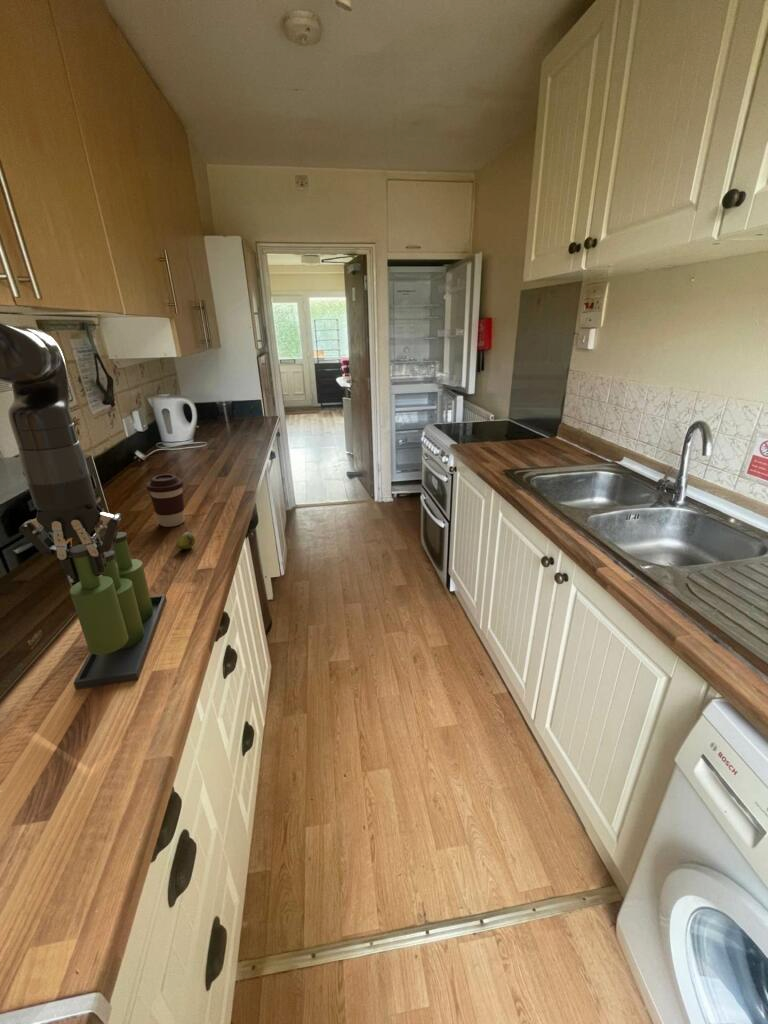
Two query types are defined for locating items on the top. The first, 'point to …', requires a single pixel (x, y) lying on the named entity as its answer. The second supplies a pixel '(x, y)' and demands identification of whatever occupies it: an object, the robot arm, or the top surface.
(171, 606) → the top surface
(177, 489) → the coffee cup
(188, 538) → the lime
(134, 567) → the bottle far
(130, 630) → the bottle mid
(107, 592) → the bottle loose
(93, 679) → the tray
